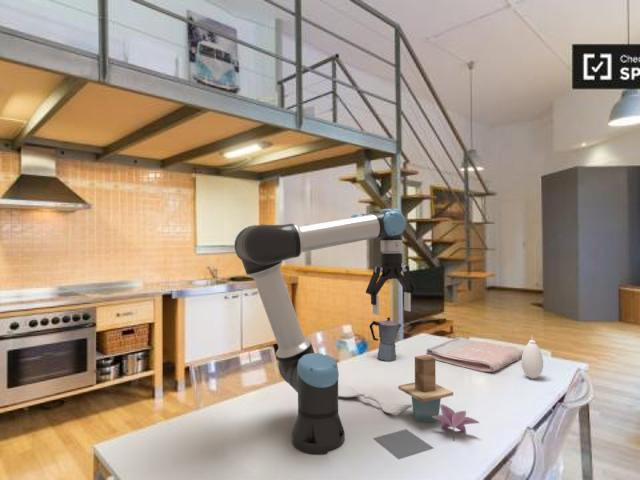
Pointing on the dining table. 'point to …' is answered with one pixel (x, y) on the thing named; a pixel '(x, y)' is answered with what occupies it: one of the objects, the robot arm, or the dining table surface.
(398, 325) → the moka pot
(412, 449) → the plate
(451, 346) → the towel
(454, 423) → the lily
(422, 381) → the lid
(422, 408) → the flower pot
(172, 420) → the dining table surface
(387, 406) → the white spork
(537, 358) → the white tall oval piece
